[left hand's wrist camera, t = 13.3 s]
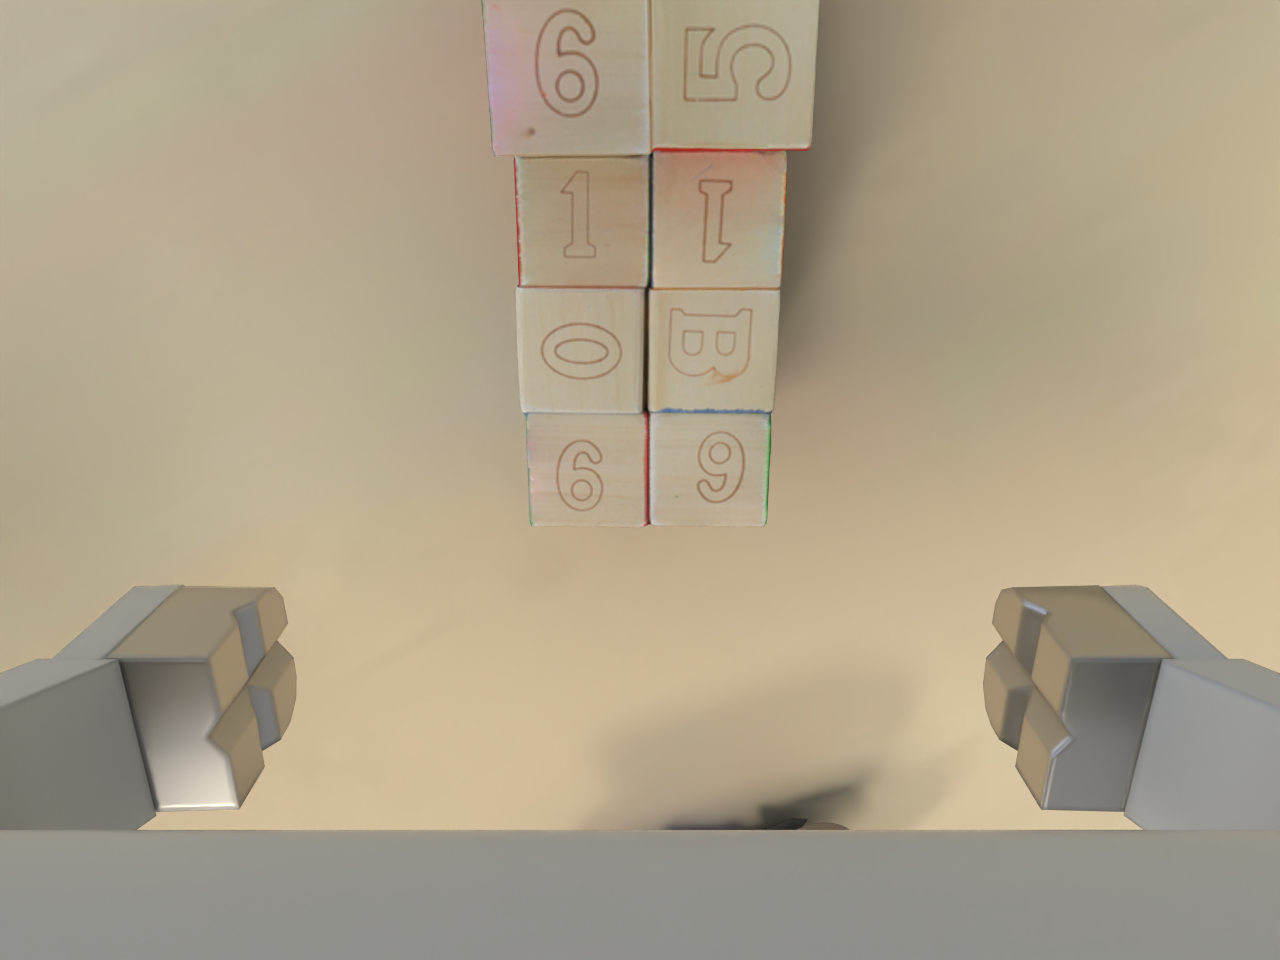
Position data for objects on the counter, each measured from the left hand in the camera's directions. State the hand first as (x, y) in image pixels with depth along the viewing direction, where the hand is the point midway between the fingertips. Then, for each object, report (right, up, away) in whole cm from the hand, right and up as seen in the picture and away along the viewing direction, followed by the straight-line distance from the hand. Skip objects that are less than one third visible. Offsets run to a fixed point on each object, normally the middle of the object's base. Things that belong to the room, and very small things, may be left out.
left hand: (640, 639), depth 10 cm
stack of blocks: (0, +14, +17) cm, 22 cm away
